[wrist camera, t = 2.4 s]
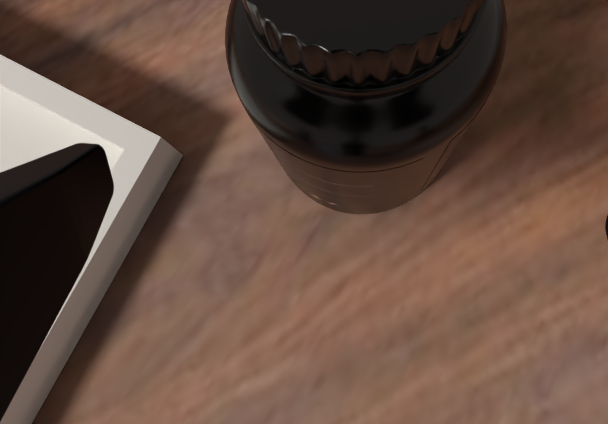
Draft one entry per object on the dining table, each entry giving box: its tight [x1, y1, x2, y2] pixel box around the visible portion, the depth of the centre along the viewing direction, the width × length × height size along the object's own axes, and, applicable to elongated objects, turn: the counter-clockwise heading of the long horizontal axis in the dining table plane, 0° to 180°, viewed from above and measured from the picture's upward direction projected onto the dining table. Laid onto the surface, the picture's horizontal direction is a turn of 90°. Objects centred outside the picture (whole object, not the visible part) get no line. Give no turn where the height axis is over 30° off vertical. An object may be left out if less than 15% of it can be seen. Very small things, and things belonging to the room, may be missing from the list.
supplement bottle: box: [225, 0, 507, 214], centre depth 15 cm, size 7×7×12 cm
